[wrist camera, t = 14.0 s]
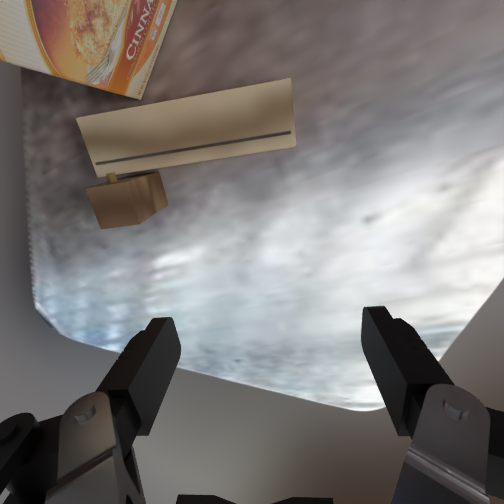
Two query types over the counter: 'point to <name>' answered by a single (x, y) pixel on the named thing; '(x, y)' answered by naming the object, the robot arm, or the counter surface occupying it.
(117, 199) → the brown block with peg
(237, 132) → the board
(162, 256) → the counter surface
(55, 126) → the counter surface
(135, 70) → the coffeecake box
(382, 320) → the robot arm
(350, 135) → the counter surface
